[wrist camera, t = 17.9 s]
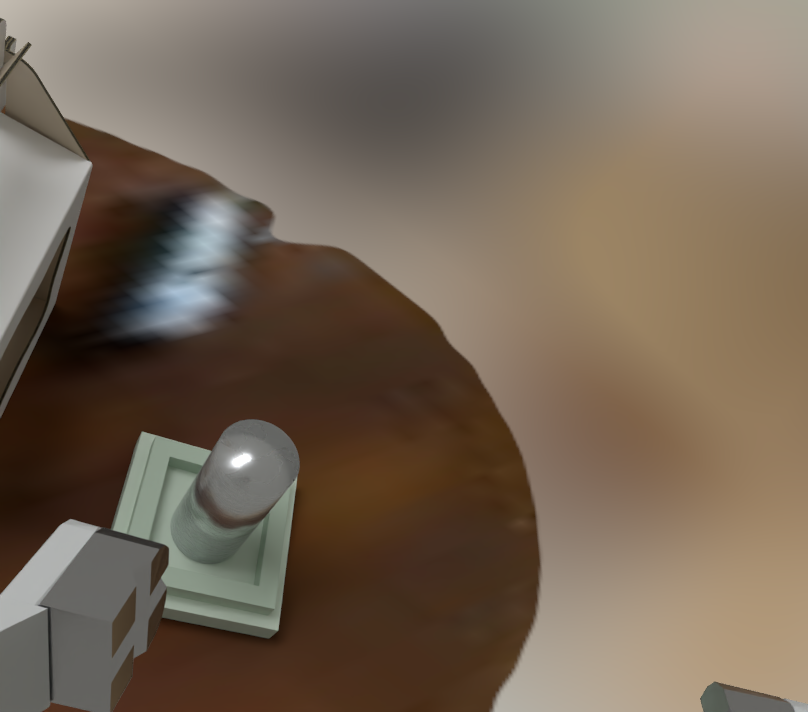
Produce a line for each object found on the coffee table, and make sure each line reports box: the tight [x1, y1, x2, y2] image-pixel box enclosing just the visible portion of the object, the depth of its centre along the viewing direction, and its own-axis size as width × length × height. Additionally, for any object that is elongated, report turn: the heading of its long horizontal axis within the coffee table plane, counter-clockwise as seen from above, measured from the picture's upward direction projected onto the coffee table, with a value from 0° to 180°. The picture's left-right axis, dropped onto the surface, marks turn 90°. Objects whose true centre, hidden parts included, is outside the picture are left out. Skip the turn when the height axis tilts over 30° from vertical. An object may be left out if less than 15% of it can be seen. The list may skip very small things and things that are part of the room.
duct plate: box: [111, 432, 297, 639], centre depth 60 cm, size 14×14×4 cm
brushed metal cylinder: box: [170, 419, 299, 564], centre depth 56 cm, size 6×6×12 cm
